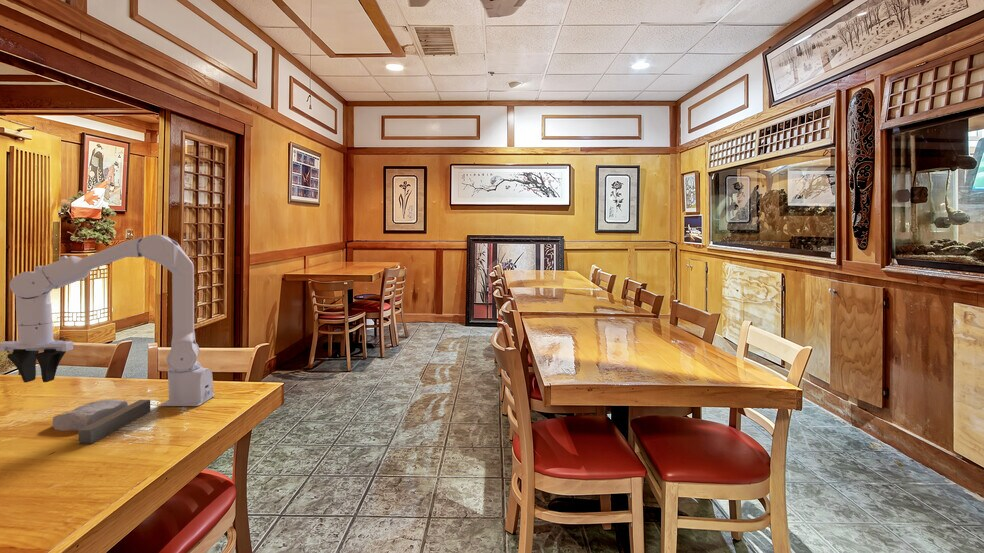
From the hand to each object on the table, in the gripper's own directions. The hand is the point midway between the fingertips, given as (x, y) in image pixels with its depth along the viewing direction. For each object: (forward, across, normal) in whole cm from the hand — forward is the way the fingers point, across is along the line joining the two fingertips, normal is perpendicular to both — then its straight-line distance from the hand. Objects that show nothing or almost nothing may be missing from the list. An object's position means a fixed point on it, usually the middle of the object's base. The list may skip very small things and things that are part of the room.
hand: (39, 381), depth 106 cm
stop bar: (+9, +20, -4) cm, 22 cm away
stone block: (+10, +11, 0) cm, 15 cm away
